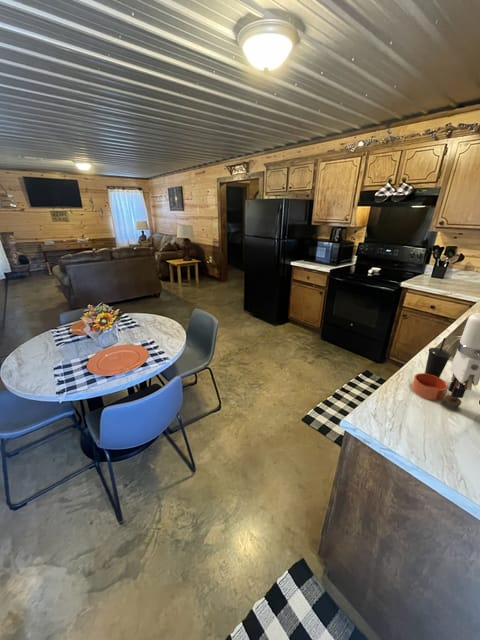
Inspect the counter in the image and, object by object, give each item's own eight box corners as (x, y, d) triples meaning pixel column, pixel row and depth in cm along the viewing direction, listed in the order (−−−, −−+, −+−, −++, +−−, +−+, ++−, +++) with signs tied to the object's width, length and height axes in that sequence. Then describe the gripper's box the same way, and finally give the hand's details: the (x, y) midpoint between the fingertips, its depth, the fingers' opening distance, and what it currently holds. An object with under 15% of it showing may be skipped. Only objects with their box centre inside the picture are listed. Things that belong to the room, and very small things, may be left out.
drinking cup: (439, 377, 115) (453, 336, 107) (443, 387, 108) (459, 344, 101) (418, 372, 118) (431, 332, 110) (421, 382, 111) (435, 340, 103)
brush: (455, 403, 99) (465, 378, 95) (460, 411, 95) (471, 386, 90) (440, 400, 100) (449, 376, 96) (445, 409, 96) (454, 384, 92)
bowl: (438, 386, 109) (442, 376, 107) (448, 403, 99) (453, 392, 97) (408, 381, 112) (411, 371, 110) (415, 397, 102) (419, 386, 100)
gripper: (499, 364, 80) (478, 411, 87) (474, 341, 94) (458, 383, 101) (469, 360, 82) (451, 406, 89) (449, 338, 96) (435, 379, 103)
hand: (455, 393), depth 95 cm, fingers closed on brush
